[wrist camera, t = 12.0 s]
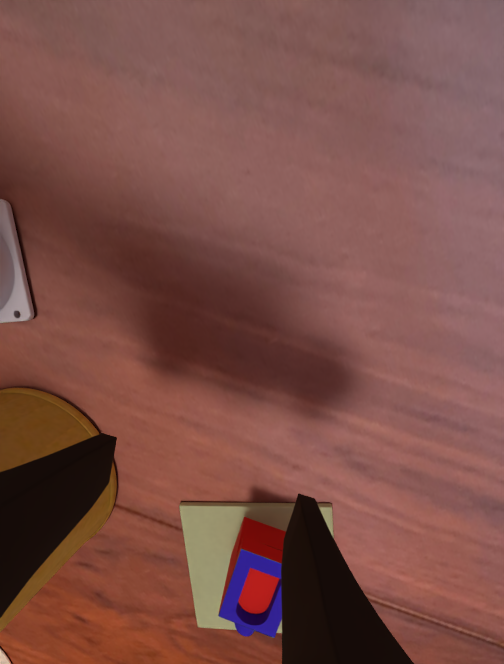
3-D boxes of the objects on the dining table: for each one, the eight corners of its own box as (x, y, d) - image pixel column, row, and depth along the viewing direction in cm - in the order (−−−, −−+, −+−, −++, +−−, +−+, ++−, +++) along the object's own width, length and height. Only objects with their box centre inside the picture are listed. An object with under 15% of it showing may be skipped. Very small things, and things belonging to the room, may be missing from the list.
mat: (198, 621, 24) (197, 627, 24) (180, 501, 23) (178, 505, 22) (338, 631, 23) (339, 637, 22) (331, 503, 21) (332, 507, 21)
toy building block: (250, 496, 21) (221, 583, 23) (241, 549, 17) (206, 650, 19) (299, 513, 21) (266, 600, 23) (301, 571, 17) (260, 671, 19)
